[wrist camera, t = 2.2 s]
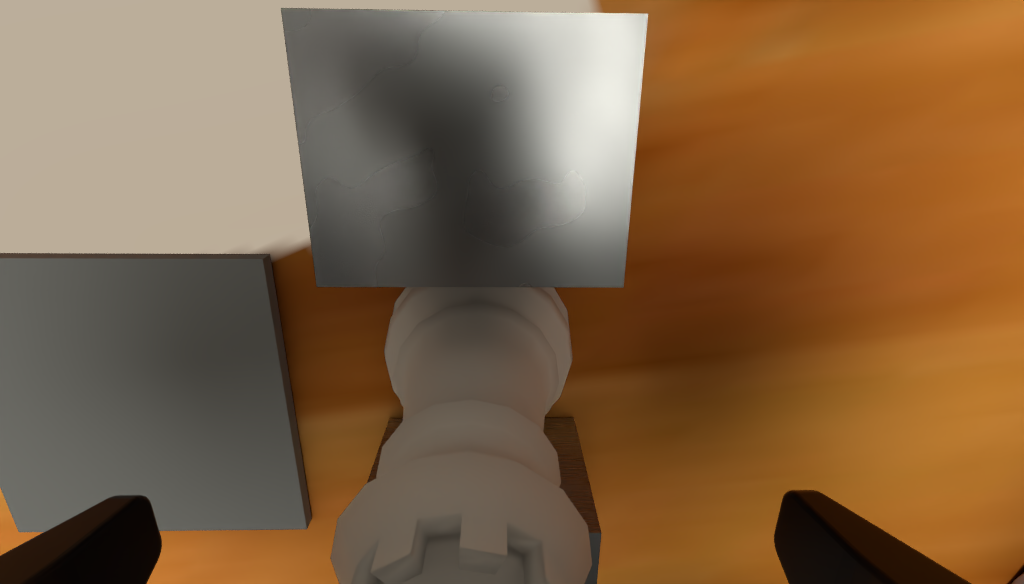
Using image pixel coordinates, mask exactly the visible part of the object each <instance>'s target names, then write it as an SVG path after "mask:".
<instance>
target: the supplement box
mask: <svg viewBox="0 0 1024 584" xmlns="http://www.w3.org/2000/svg"><path fill="white" fill-rule="evenodd" d="M1012 584H1024V573H1023V574H1022V575H1021V576H1019V577H1018V578H1017V579H1015V580H1014V581H1013V583H1012Z"/></svg>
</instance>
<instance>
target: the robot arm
mask: <svg viewBox="0 0 1024 584" xmlns="http://www.w3.org/2000/svg"><path fill="white" fill-rule="evenodd" d="M774 543H775V548H776V552H777V555H778V557H779V560H780V562H781V565H782V567H783V570H784V572H785V575H786V577H787V580H788V582H789V584H971V583H969V582H968V581H966V580H964V579H963V578H961V577H959V576H958V575H956V574H954V573H953V572H951V571H950V570H948V569H946V568H945V567H943V566H941V565H940V564H938V563H936V562H935V561H933V560H931V559H930V558H928V557H926V556H925V555H923V554H921V553H920V552H918V551H916V550H915V549H913V548H911V547H910V546H908V545H907V544H905V543H903V542H902V541H900V540H898V539H897V538H895V537H893V536H892V535H890V534H888V533H887V532H885V531H883V530H882V529H880V528H878V527H877V526H875V525H873V524H872V523H870V522H869V521H867V520H865V519H864V518H862V517H860V516H859V515H857V514H855V513H854V512H852V511H850V510H849V509H847V508H845V507H844V506H842V505H840V504H839V503H837V502H835V501H834V500H832V499H831V498H829V497H827V496H826V495H824V494H822V493H820V492H818V491H814V490H791V491H788V492H787V493H786V494H785V495H784V496H783V499H782V503H781V508H780V512H779V516H778V520H777V525H776V529H775V534H774ZM161 547H162V540H161V536H160V532H159V529H158V525H157V522H156V518H155V515H154V511H153V508H152V504H151V502H150V500H149V499H148V498H147V497H146V496H142V495H117V496H112V497H110V498H107V499H105V500H104V501H102V502H100V503H98V504H96V505H94V506H92V507H91V508H89V509H87V510H85V511H83V512H81V513H79V514H77V515H76V516H74V517H72V518H70V519H68V520H66V521H64V522H62V523H61V524H59V525H57V526H55V527H53V528H51V529H49V530H47V531H46V532H44V533H42V534H40V535H38V536H36V537H34V538H33V539H31V540H29V541H27V542H25V543H23V544H21V545H19V546H18V547H16V548H14V549H12V550H10V551H8V552H6V553H4V554H3V555H1V556H0V584H146V583H147V581H148V579H149V577H150V575H151V573H152V571H153V569H154V567H155V565H156V563H157V561H158V559H159V556H160V552H161Z"/></svg>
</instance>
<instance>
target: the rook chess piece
mask: <svg viewBox="0 0 1024 584" xmlns="http://www.w3.org/2000/svg"><path fill="white" fill-rule="evenodd" d="M384 354H385V360H386V364H387V368H388V372H389V376H390V380H391V384H392V388H393V391H394V392H395V393H396V395H397V396H398V397H399V399H400V402H401V405H402V406H403V407H404V411H403V422H402V423H401V424H400V425H399V427H398V428H397V429H396V430H395V432H394V433H393V434H392V435H391V437H390V438H389V439H388V440H387V442H386V443H385V444H384V445H383V447H382V450H381V455H380V460H379V465H378V470H377V475H376V479H374V480H372V481H370V482H369V483H367V484H365V486H364V487H363V488H362V489H361V491H360V492H359V493H358V494H357V496H356V497H355V498H354V499H353V501H352V502H351V503H350V504H349V506H348V507H347V508H346V509H345V510H344V512H343V513H342V514H341V515H340V517H339V518H338V520H337V526H336V531H335V537H334V542H333V548H332V553H331V561H332V564H333V567H334V570H335V573H336V575H337V578H338V581H339V584H584V583H585V581H586V578H587V576H588V574H589V571H590V569H591V566H592V558H591V549H590V540H589V531H588V525H587V524H586V522H585V521H584V519H583V518H582V516H581V515H580V514H579V512H578V511H577V509H576V508H575V506H574V505H573V503H572V502H571V501H570V499H569V498H568V496H567V495H566V493H565V492H564V490H563V489H561V488H559V487H560V484H561V478H560V470H559V462H558V455H557V452H556V450H555V449H554V447H553V446H552V444H551V443H550V441H549V440H548V438H547V437H546V435H545V434H544V432H543V430H544V419H545V415H546V414H547V413H548V411H549V410H550V409H551V407H552V405H553V404H554V403H555V402H556V401H557V400H558V399H559V398H560V396H561V393H562V390H563V387H564V384H565V381H566V378H567V375H568V372H569V369H570V366H571V363H572V359H573V356H572V347H571V338H570V329H569V322H568V313H567V309H566V307H565V305H564V304H563V302H562V300H561V299H560V297H559V295H558V294H557V292H556V290H555V289H554V287H406V288H405V289H404V291H403V292H402V293H401V295H400V296H399V298H398V299H397V300H396V302H395V305H394V310H393V315H392V317H391V318H390V323H389V328H388V334H387V339H386V344H385V349H384Z"/></svg>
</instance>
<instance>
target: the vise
mask: <svg viewBox="0 0 1024 584" xmlns="http://www.w3.org/2000/svg"><path fill="white" fill-rule="evenodd" d="M281 13H282V21H283V28H284V36H285V44H286V52H287V60H288V66H289V75H290V83H291V91H292V98H293V106H294V114H295V122H296V130H297V137H298V145H299V153H300V161H301V168H302V176H303V184H304V192H305V200H306V208H307V215H308V223H309V231H310V239H311V246H312V254H313V262H314V270H315V278H316V285H317V287H624V276H625V265H626V253H627V242H628V231H629V220H630V209H631V198H632V187H633V176H634V165H635V154H636V143H637V132H638V120H639V109H640V98H641V87H642V76H643V65H644V54H645V43H646V32H647V21H648V14H631V13H566V12H560V13H559V12H501V11H500V12H499V11H434V10H372V9H370V10H369V9H306V8H304V9H303V8H281ZM402 422H403V419H389V421H388V424H387V427H386V430H385V433H384V436H383V439H382V441H381V444H380V447H379V450H378V453H377V456H376V459H375V462H374V464H373V467H372V470H371V473H370V476H369V479H368V482H367V483H369V482H370V481H372V480H374V479H376V475H377V470H378V465H379V460H380V455H381V450H382V447H383V445H384V444H385V443H386V442H387V440H388V439H389V438H390V437H391V435H392V434H393V433H394V432H395V430H396V429H397V428H398V427H399V425H400V424H401V423H402ZM543 432H544V434H545V435H546V437H547V438H548V440H549V441H550V443H551V444H552V446H553V447H554V449H555V450H556V452H557V455H558V462H559V470H560V478H561V484H560V487H559V488H561V489H563V490H564V492H565V493H566V495H567V496H568V498H569V499H570V501H571V502H572V503H573V505H574V506H575V508H576V509H577V511H578V512H579V514H580V515H581V516H582V518H583V519H584V521H585V522H586V524H587V525H588V531H589V540H590V549H591V558H592V566H591V569H590V571H589V574H588V576H587V578H586V581H585V583H584V584H597V575H598V564H599V553H600V542H601V530H600V526H599V521H598V517H597V513H596V509H595V505H594V500H593V496H592V492H591V488H590V484H589V479H588V475H587V471H586V467H585V463H584V458H583V454H582V450H581V446H580V442H579V437H578V433H577V429H576V425H575V421H574V418H545V419H544V430H543Z"/></svg>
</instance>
